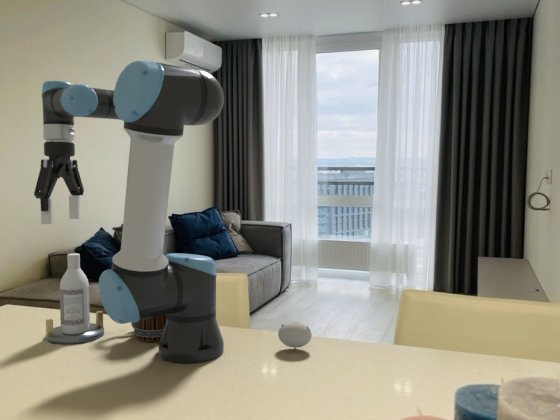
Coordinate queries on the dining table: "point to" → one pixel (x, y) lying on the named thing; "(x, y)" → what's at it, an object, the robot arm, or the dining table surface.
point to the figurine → (294, 334)
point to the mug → (149, 329)
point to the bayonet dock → (65, 339)
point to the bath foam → (74, 298)
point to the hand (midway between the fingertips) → (61, 221)
